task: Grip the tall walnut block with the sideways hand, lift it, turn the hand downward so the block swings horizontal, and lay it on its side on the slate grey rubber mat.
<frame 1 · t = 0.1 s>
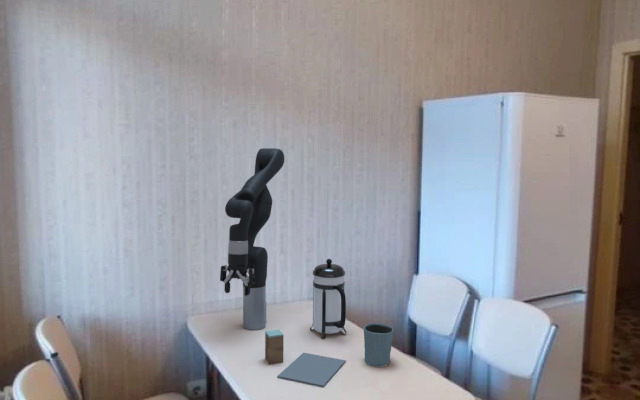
hand: (237, 294, 190), 17 cm above the table, fingers open, 8 cm apart
coffee press: (330, 334, 197), on the table
mat: (312, 369, 165), on the table
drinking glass: (377, 362, 172), on the table
walnut block: (274, 360, 171), on the table
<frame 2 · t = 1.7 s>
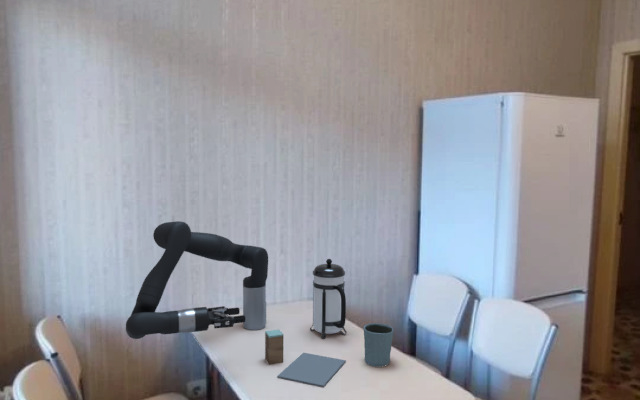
hand: (242, 314, 165), 18 cm above the table, fingers open, 8 cm apart
nothing on the table moved.
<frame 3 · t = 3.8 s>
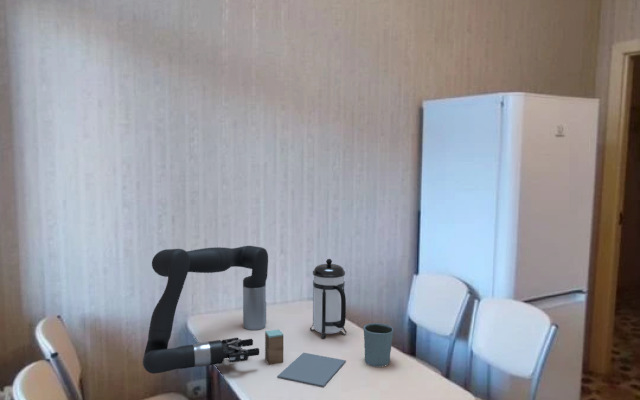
hand: (255, 346, 168), 6 cm above the table, fingers open, 8 cm apart
nothing on the table moved.
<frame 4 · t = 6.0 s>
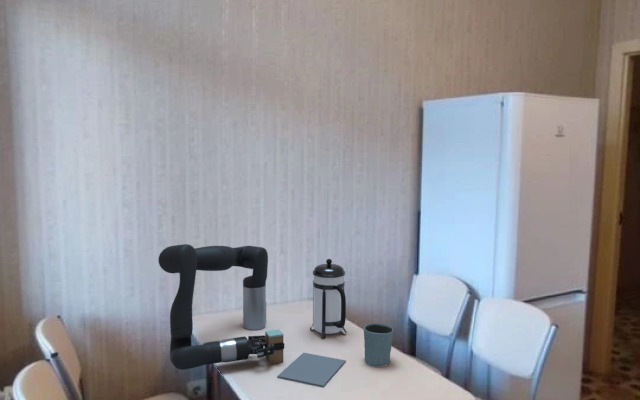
hand: (281, 342, 172), 6 cm above the table, fingers closed on walnut block, 5 cm apart
walnut block: (274, 360, 171), on the table, touching gripper
everything else where it was.
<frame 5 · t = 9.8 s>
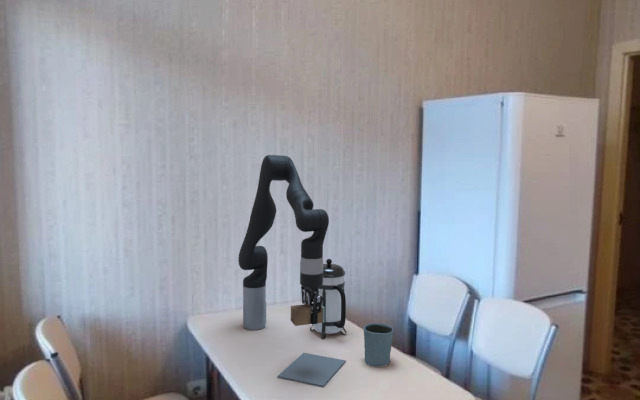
hand: (310, 320, 163), 17 cm above the table, fingers closed on walnut block, 5 cm apart
walnut block: (293, 315, 160), point 19 cm above the table, tilted 90°, touching gripper
everything else where it was.
when the fingers open (2 cm above the table, at t = 13.3 s): walnut block drops 1 cm, resting on mat.
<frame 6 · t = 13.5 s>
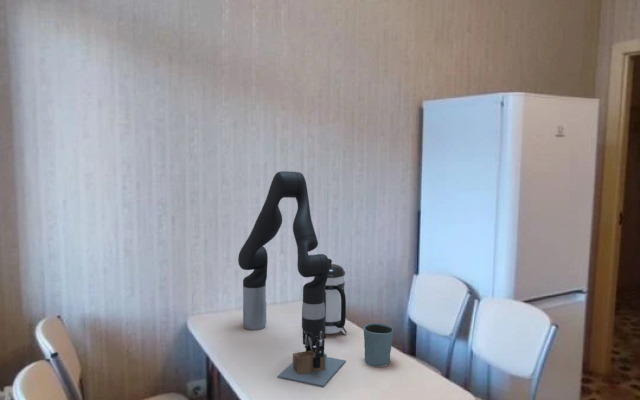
hand: (312, 363, 165), 2 cm above the table, fingers open, 6 cm apart
walnut block: (295, 363, 162), point 3 cm above the table, tilted 90°, touching mat
everything else where it was.
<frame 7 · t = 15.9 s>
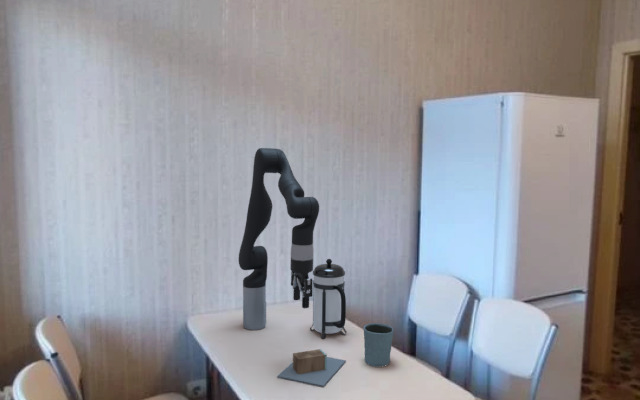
hand: (300, 303, 167), 21 cm above the table, fingers open, 8 cm apart
nothing on the table moved.
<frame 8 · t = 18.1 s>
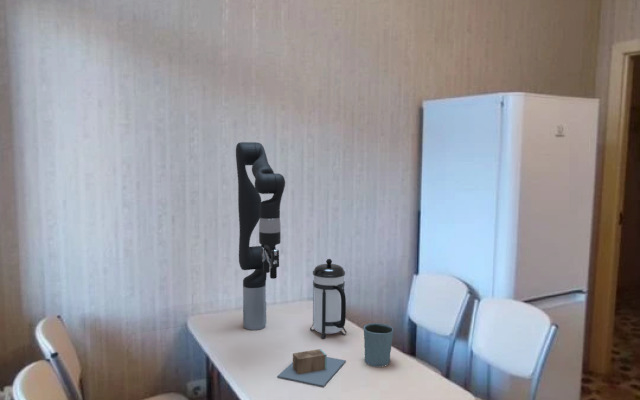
hand: (269, 275, 176), 28 cm above the table, fingers open, 8 cm apart
nothing on the table moved.
at the end: walnut block tilted 90°; walnut block inside the target area on the mat (6.2 cm from its centre), point 3.1 cm above the mat's base; the gripper is holding nothing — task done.
